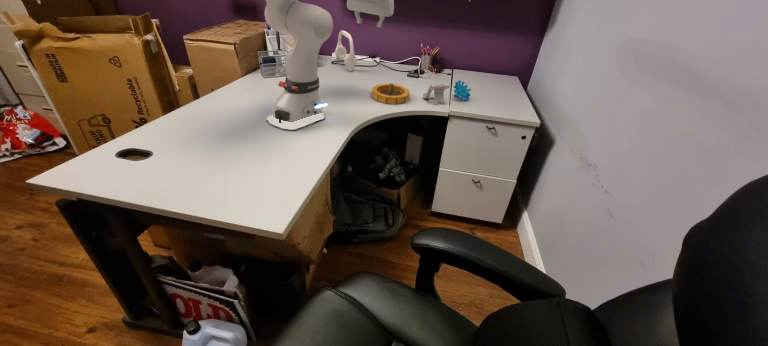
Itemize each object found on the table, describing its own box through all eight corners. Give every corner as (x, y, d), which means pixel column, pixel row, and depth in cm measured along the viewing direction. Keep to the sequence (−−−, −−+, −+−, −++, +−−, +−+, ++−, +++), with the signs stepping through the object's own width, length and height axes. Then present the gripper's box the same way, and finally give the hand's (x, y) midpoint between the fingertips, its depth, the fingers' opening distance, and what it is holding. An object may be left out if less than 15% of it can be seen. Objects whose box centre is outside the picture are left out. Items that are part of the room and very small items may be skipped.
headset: (357, 71, 173) (358, 36, 163) (345, 72, 170) (345, 36, 160) (344, 60, 187) (344, 27, 177) (332, 61, 185) (332, 27, 174)
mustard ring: (398, 107, 138) (399, 100, 137) (365, 97, 144) (365, 91, 143) (414, 95, 151) (415, 89, 149) (383, 87, 157) (383, 81, 155)
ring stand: (395, 102, 142) (396, 89, 139) (375, 97, 146) (376, 84, 142) (404, 96, 149) (406, 83, 146) (385, 90, 153) (386, 78, 150)
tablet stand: (439, 96, 152) (442, 79, 147) (447, 103, 146) (451, 85, 141) (422, 98, 149) (425, 80, 144) (430, 104, 143) (433, 86, 138)
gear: (459, 100, 146) (453, 79, 147) (450, 105, 151) (444, 85, 152) (475, 99, 152) (469, 79, 153) (466, 104, 157) (460, 85, 158)
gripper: (343, -16, 127) (343, 22, 135) (389, -10, 120) (386, 30, 128) (352, -17, 132) (352, 20, 140) (397, -11, 124) (394, 28, 133)
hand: (369, 25), depth 134 cm, fingers open, 8 cm apart
